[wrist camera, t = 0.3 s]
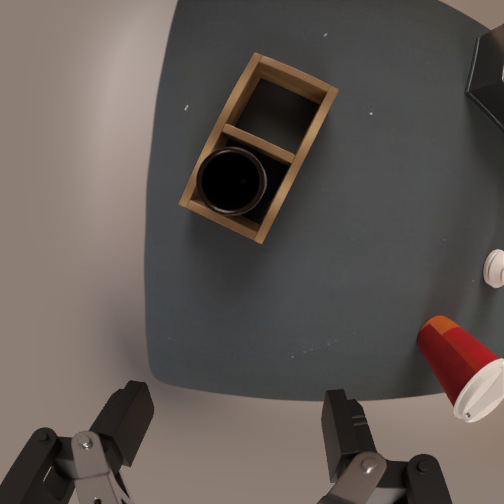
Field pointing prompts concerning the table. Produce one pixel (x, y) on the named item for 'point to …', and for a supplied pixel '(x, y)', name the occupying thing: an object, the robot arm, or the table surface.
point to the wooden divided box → (227, 130)
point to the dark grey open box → (488, 75)
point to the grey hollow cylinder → (231, 181)
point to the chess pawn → (494, 269)
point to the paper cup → (462, 368)
